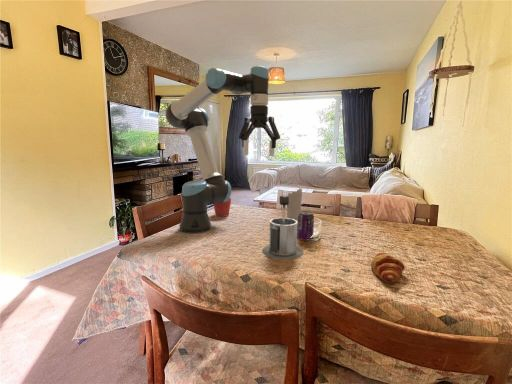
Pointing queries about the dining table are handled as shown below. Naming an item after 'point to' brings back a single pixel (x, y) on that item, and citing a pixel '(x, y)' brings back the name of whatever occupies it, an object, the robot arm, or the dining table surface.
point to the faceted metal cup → (283, 237)
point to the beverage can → (305, 225)
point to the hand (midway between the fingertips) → (258, 155)
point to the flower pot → (222, 208)
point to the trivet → (267, 253)
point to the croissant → (387, 267)
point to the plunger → (284, 201)
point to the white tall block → (294, 204)
